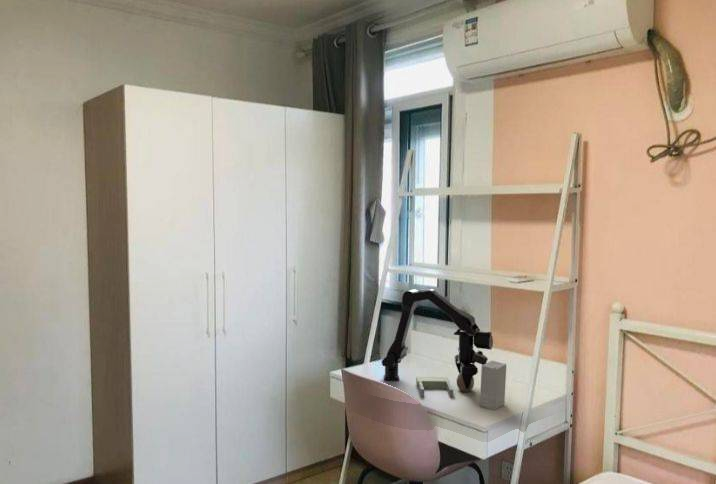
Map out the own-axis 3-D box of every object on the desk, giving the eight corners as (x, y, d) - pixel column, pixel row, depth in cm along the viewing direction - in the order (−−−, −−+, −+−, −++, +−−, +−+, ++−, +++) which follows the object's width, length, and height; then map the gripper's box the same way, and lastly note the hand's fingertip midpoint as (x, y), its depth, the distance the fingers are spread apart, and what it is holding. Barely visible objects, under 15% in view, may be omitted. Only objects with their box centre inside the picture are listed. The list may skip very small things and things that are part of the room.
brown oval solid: (453, 388, 231) (453, 367, 231) (468, 387, 234) (468, 365, 233) (462, 393, 225) (462, 372, 224) (477, 392, 227) (477, 370, 227)
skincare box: (489, 400, 217) (490, 359, 216) (506, 405, 212) (507, 363, 211) (478, 406, 210) (479, 364, 209) (496, 411, 206) (497, 367, 205)
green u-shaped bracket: (416, 383, 237) (416, 376, 237) (447, 384, 237) (447, 377, 237) (420, 397, 220) (420, 389, 220) (453, 397, 220) (454, 389, 220)
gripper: (491, 352, 219) (490, 392, 220) (481, 341, 238) (480, 378, 238) (462, 352, 219) (461, 392, 220) (454, 341, 238) (454, 378, 239)
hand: (465, 384), depth 229 cm, fingers open, 9 cm apart
